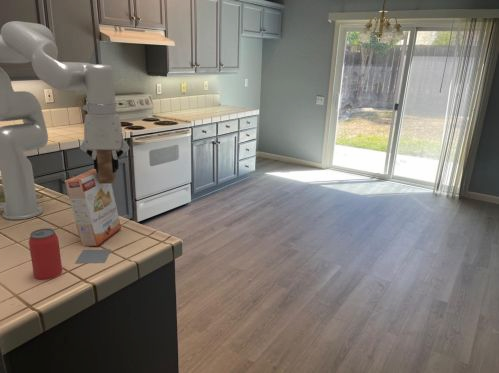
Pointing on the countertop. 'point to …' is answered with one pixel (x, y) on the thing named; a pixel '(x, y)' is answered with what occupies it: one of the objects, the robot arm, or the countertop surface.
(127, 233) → the countertop surface
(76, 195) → the cracker box
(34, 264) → the beer can
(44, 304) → the countertop surface
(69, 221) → the countertop surface
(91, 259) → the mat
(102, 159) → the walnut block
